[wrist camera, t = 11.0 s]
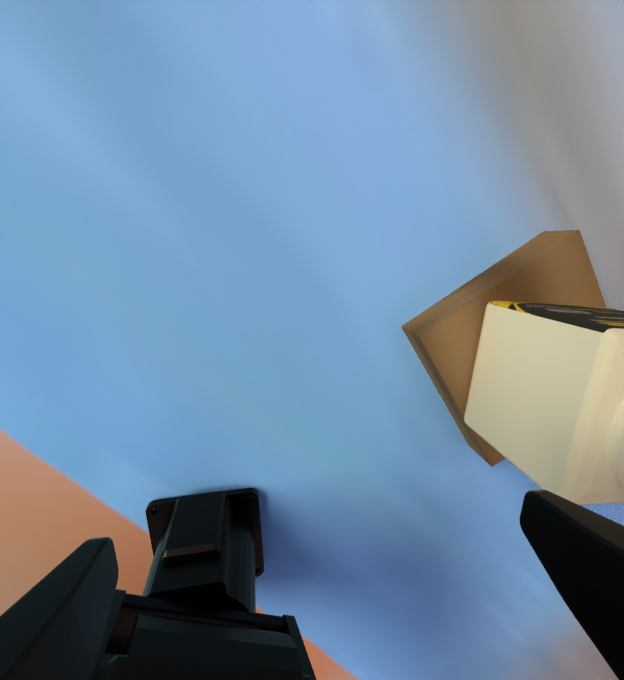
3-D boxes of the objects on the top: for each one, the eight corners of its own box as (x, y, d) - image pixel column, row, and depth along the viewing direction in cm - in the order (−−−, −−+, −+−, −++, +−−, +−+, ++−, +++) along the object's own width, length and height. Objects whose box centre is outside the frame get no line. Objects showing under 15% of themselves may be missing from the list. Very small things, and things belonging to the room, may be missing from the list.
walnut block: (464, 440, 25) (491, 466, 22) (397, 324, 22) (419, 336, 19) (585, 360, 25) (629, 375, 22) (535, 231, 22) (579, 230, 19)
